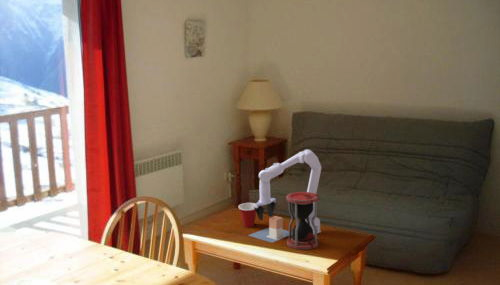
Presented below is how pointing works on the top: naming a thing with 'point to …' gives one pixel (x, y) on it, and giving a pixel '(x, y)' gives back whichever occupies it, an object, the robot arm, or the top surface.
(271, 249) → the top surface
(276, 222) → the terracotta block
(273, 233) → the offwhite block
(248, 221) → the plastic cup
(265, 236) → the mat
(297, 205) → the hourglass
